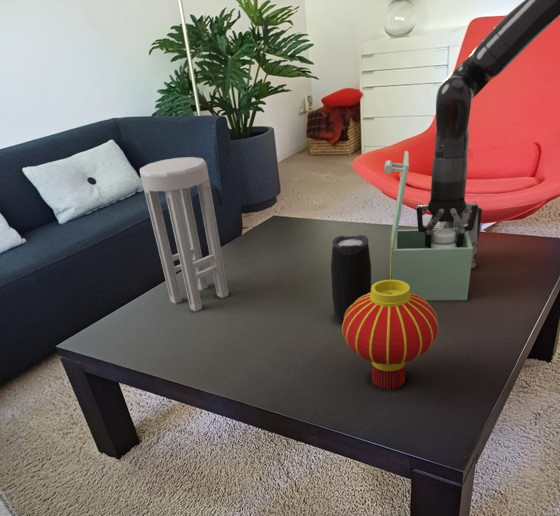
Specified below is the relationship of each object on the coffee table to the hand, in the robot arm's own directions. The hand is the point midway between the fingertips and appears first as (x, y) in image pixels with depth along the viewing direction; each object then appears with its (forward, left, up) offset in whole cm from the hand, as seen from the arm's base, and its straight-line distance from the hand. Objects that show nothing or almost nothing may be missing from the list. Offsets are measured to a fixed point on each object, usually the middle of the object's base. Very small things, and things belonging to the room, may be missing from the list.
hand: (443, 247), depth 127 cm
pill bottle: (0, 0, -8) cm, 8 cm away
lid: (+10, 0, +12) cm, 16 cm away
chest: (+3, 0, -11) cm, 12 cm away
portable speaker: (+21, +16, -11) cm, 29 cm away
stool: (+63, +5, -11) cm, 64 cm away
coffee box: (-5, -15, -11) cm, 19 cm away
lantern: (+12, +41, -11) cm, 44 cm away
